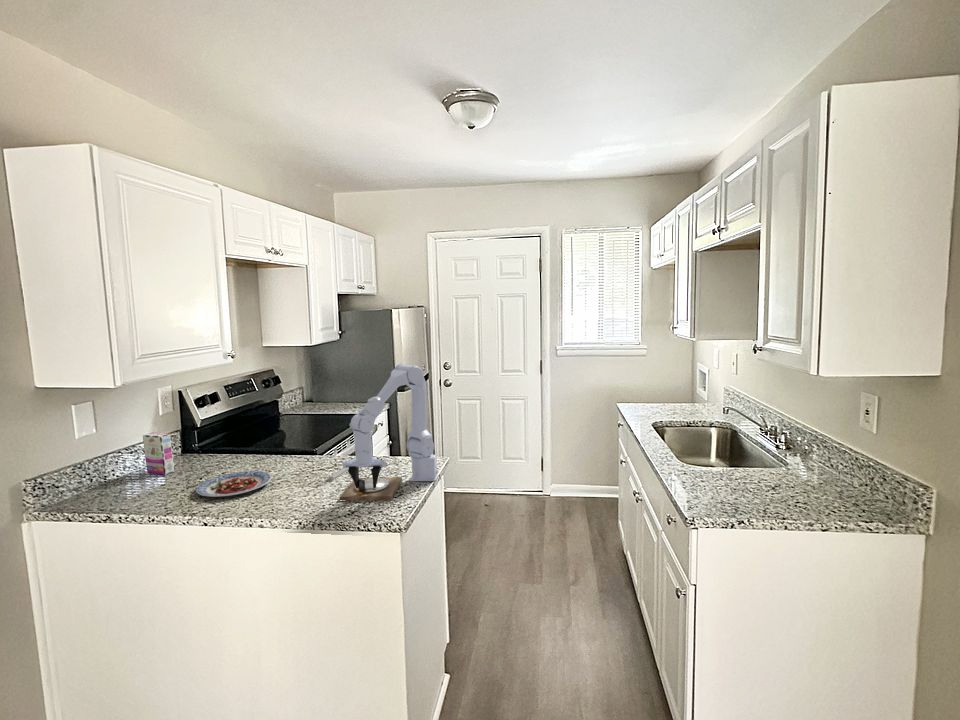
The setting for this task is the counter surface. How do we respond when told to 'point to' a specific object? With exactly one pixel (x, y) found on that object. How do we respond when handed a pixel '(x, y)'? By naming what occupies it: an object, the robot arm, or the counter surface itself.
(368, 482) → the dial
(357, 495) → the dial board
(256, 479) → the ceramic plate
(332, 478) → the adjustable wrench
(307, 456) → the counter surface
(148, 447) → the candy bar box
